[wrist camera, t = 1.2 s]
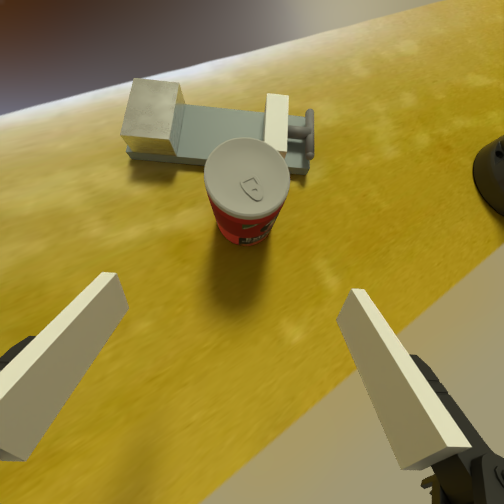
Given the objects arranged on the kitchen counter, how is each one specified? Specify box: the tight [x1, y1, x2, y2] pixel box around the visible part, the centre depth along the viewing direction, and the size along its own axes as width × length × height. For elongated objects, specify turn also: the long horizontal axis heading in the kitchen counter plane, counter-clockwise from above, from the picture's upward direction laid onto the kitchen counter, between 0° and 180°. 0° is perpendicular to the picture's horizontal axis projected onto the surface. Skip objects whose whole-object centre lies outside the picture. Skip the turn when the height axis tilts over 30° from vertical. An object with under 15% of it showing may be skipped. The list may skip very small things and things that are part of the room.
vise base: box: [126, 93, 314, 175], centre depth 28 cm, size 26×9×4 cm, turn 86°
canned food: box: [204, 137, 290, 246], centre depth 23 cm, size 8×8×11 cm
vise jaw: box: [120, 78, 185, 156], centre depth 27 cm, size 6×9×3 cm, turn 176°
